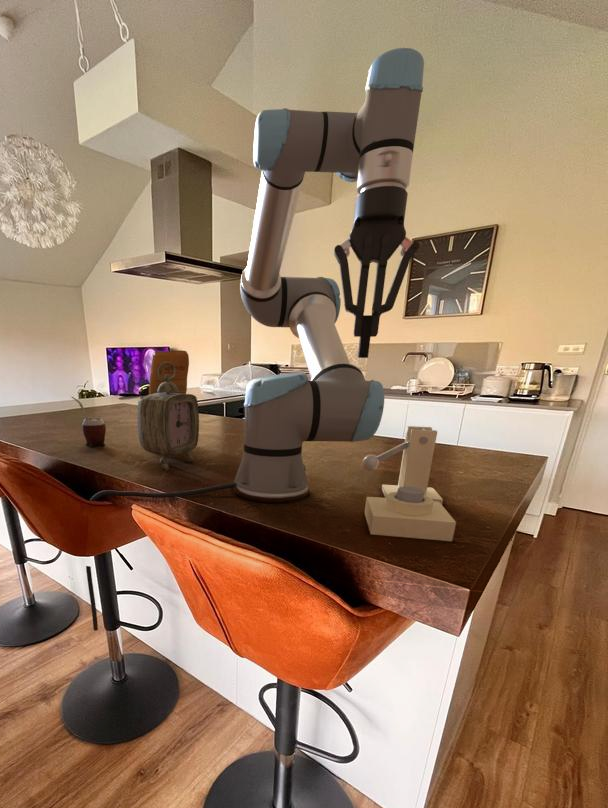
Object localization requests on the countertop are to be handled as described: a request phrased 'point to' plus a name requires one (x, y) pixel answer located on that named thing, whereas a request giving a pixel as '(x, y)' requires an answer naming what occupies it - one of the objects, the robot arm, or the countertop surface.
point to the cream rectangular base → (409, 518)
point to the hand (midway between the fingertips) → (362, 357)
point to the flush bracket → (417, 462)
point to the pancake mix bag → (169, 370)
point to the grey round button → (410, 494)
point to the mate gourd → (93, 429)
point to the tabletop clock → (168, 420)
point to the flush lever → (383, 456)
